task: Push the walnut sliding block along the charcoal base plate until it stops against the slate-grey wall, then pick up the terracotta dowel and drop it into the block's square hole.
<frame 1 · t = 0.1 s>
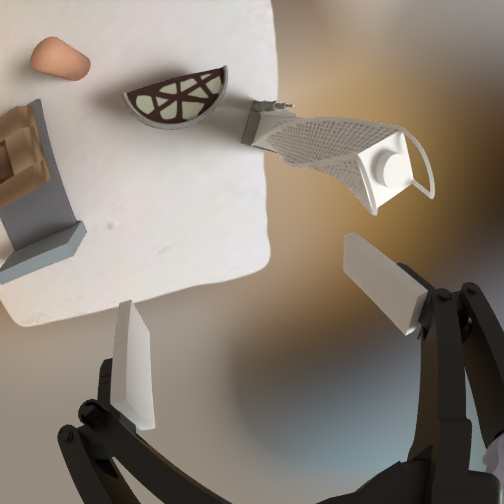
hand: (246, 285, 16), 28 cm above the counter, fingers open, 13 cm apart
block: (4, 161, 25), point 4 cm above the counter, slide at 0.0 cm
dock: (23, 181, 30), on the counter
food container: (177, 105, 33), on the counter
skyscraper: (271, 132, 39), on the counter
dowel: (78, 68, 25), on the counter
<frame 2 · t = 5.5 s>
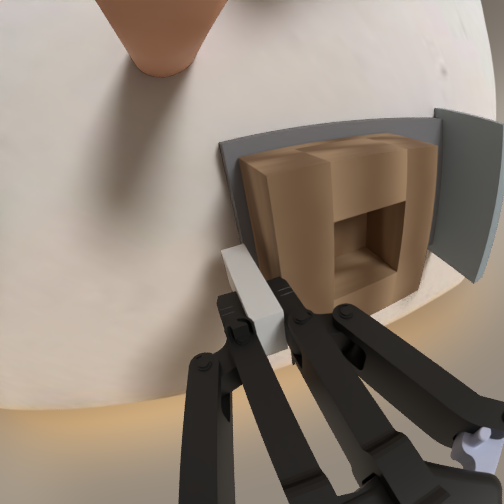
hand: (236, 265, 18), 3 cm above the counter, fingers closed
block: (349, 233, 18), point 4 cm above the counter, slide at 0.1 cm, touching gripper
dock: (364, 202, 22), on the counter
dowel: (164, 47, 12), on the counter
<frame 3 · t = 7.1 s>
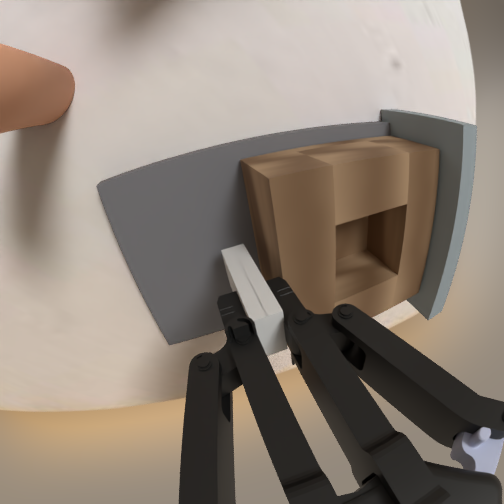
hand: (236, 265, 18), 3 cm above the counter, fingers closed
block: (350, 236, 18), point 4 cm above the counter, slide at 8.0 cm, touching gripper
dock: (279, 229, 20), on the counter
dowel: (47, 94, 11), on the counter
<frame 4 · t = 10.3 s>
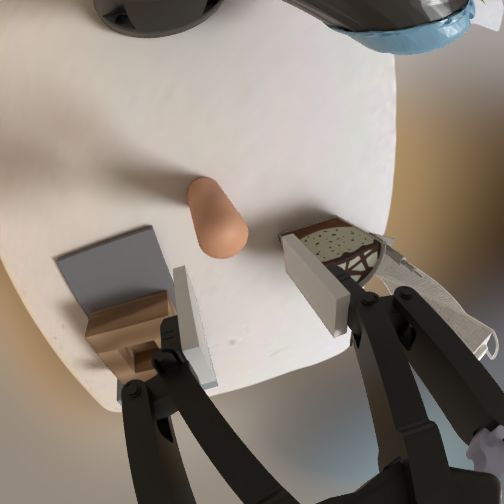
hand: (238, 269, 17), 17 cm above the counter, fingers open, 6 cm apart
block: (143, 344, 35), point 4 cm above the counter, slide at 8.0 cm
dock: (133, 309, 36), on the counter
food container: (309, 242, 39), on the counter
skyscraper: (374, 255, 45), on the counter
dowel: (203, 193, 31), on the counter
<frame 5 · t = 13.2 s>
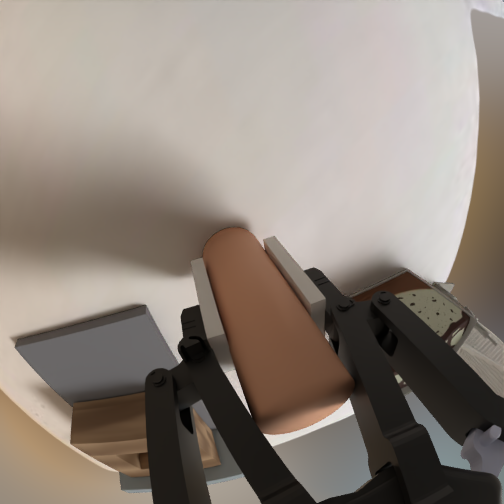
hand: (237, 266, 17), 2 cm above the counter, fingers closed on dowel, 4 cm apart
block: (148, 441, 22), point 4 cm above the counter, slide at 8.0 cm
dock: (130, 398, 23), on the counter
food container: (371, 305, 27), on the counter
skyscraper: (431, 305, 33), on the counter
dowel: (231, 254, 19), on the counter, touching gripper
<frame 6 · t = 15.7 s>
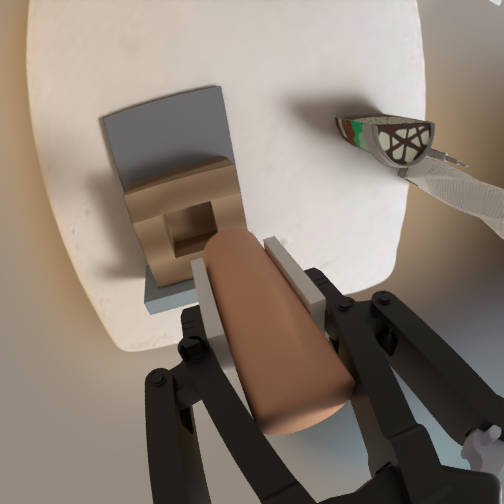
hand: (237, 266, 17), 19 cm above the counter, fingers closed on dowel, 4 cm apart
block: (190, 221, 32), point 4 cm above the counter, slide at 8.0 cm
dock: (181, 184, 33), on the counter
food container: (361, 134, 36), on the counter
skyscraper: (414, 167, 42), on the counter
dowel: (232, 254, 19), point 18 cm above the counter, touching gripper
when the fingers open (8 cm above the counter, at t = 18.3 s): dowel drops 2 cm, resting on block.
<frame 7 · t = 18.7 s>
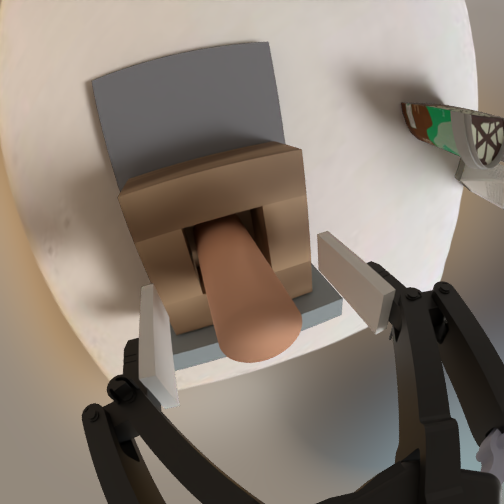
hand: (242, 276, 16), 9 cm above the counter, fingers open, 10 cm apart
block: (223, 237, 21), point 4 cm above the counter, slide at 8.0 cm, touching dowel
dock: (206, 180, 22), on the counter
food container: (425, 126, 26), on the counter
skyscraper: (467, 169, 32), on the counter
dowel: (217, 230, 22), point 2 cm above the counter, touching block
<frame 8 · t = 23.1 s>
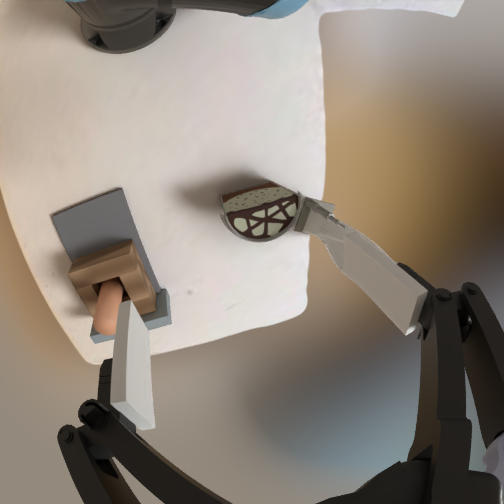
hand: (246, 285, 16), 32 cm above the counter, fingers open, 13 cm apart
block: (113, 285, 43), point 4 cm above the counter, slide at 8.0 cm, touching dowel
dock: (108, 257, 44), on the counter
food container: (248, 203, 48), on the counter
skyscraper: (315, 219, 54), on the counter
dowel: (113, 280, 44), point 2 cm above the counter, touching block
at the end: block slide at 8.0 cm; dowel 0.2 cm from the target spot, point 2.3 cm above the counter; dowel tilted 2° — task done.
